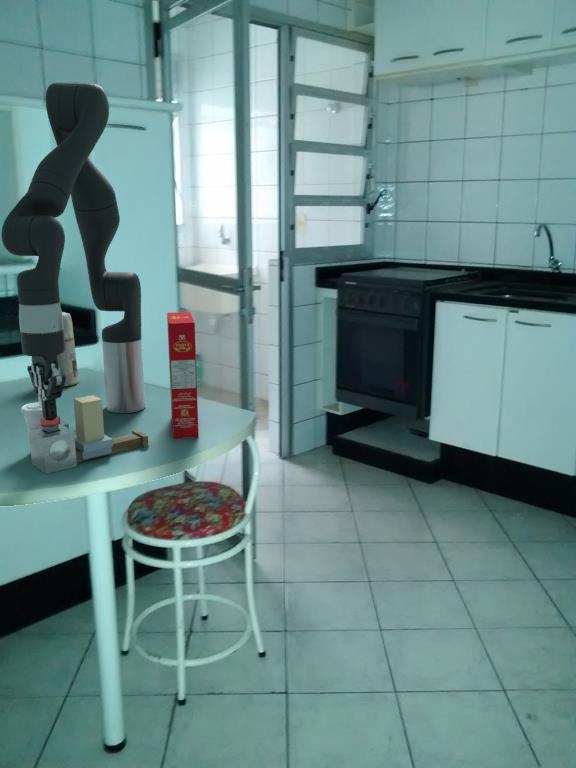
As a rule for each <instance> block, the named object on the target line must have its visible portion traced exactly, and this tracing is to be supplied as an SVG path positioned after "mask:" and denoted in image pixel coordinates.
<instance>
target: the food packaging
mask: <svg viewBox="0 0 576 768" xmlns="http://www.w3.org/2000/svg"><path fill="white" fill-rule="evenodd" d="M166 316H167V317H166V318H167V319H166V320H167V321H166V322H167V342H168V363H169V385H170V386H169V387H170V390H169V391H170V408H171V409H170V410H171V423H172V424H171V425H173V426H172V432H173V440H178V439H192V438H193V439H195V438H196V439H197V438H200V437H199V435H200V434H199V409H198V407H199V406H198V382H197V379H198V377H197V375H198V374H197V354H196V353H197V351H196V350H197V348H196V345H197V344H196V323H195V319H194V317H193V314H192V312H191V311H185V312H184V311H181V312H177V311H175V312H166Z"/></svg>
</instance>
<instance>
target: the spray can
mask: <svg viewBox="0 0 576 768" xmlns="http://www.w3.org/2000/svg"><path fill="white" fill-rule="evenodd" d="M62 316H63V328H64V340H65V351H64V352H63V353H61V354H58V355H57V359H58V363H59V366H60V372H59V374H60V375H65V377H66V381H65V384H64V387H69V386H73V385H76V384H78V383H79V374H78V373H79V371H78V364H77V353H76V345H75V335H74V326H73V320H72V316H71V314H70V313H68V312H65V311H62Z"/></svg>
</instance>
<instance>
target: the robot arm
mask: <svg viewBox="0 0 576 768" xmlns="http://www.w3.org/2000/svg"><path fill="white" fill-rule="evenodd" d="M46 89H47V90H46V92H45V108H46V113H47V118H48V122H49V125H50V129H51V131H52V134H53V137H54V140H55V143H56V146H55V148H53V149H52V150H51V151H50V152H49V153H47V155H45V156H44V157H43V159H41V161H40V162H39V164H38V166H37V167H36V169H35V171H34V174H33V176H32V179H31V181H30V184H29V187H28V188H27V191H26V193H25V194H24V195H23V196H22V197H21V198H20V200H19V201H18V202H17V203H16V205H15V206H13V208H12V209H11V211H10V212H9V213H8V215H7V216H6V218H5V220H4V221H3V224H2V228H1V241H2V244H3V247H4V248H5V250H7V252H8V253H10V254H11V255H14V256H20V257H38V259H37V263H36V265H35V267H34V268H31V269H25V270H22V271H20V272H19V273H18V274H17V277H16V285H17V295H18V297H17V298H18V320H19V321H18V322H19V333H20V342H21V351H22V355H24V356H27V357H31V365H28V366H27V367H26V369H27V370H26V371H27V372H28V375H29V378H30V381H31V383H32V386H33V387H32V388H33V390H34V392H35V394H36V395H38V394H39V397H38V399H39V398H40V399H42V400H41V402H42V413H43V418H45V419H47V420H50V419H55V418H57V416H58V411H57V410H58V409H57V400H58V399H60V398H61V397H62V393H63V391H64V388H65V386H64V384H65V381H66V377H65V375H60V374H59V372H60V366H59V363H58V359H57V355H58V354H61V353H63V352H64V351H65V340H64V328H63V316H62V312H63V310H62V306H61V299H60V289H59V288H60V286H59V277H60V271H61V265H62V259H63V253H64V250H65V243H66V235H65V230H64V228H63V225H62V224H61V221H59V220H58V219H57V218H58V217H60V216H62V215H63V214H64V212H65V210H66V208H67V205H68V203H69V200H70V198H71V203H72V208H73V211H74V217H75V220H76V223H77V228H78V231H79V235H80V237H81V241H82V247H83V251H84V255H85V262H86V267H87V275H88V280H89V288H90V293H91V297H92V302H93V304H94V306H95V307H96V309H97V310H99V311H102V312H123V313H124V314H123V318H122V319H121V320H120V321H118V322H116V323H115V322H114V323H113V324H110V325H107V326H105V327H103V328H102V329H101V340H102V341H101V343H102V354H103V355H102V356H103V358H102V359H103V375H104V376H103V377H104V389H105V404H106V410H107V411H108V412H110V413H113V414H114V413H116V414H129V413H130V414H131V413H137V412H140V411H143V410H144V409H146V396H145V375H144V360H143V359H144V358H143V343H142V339H143V338H142V337H143V336H142V285H141V280H140V277H139V276H138V274H137V273H135V272H132V271H108V270H107V269H106V261H105V260H106V256H107V253H108V250H109V247H110V246H111V244H112V242H113V240H114V238H115V235H116V234H117V231H118V229H119V226H120V221H121V220H120V219H121V217H120V211H119V206H118V201H117V197H116V192H115V190H114V187H113V185H112V184H111V183H110V180H108V179H107V177H106V176H105V175H104V174H103V172H102V171H101V170H100V169H99V168H98V167H97V166H96V164H95V163H94V162H93V161H92V159H91V158H90V155H91V153H92V151H94V148H95V147H96V145H97V144H98V142H99V141H100V138H101V137H102V135H103V133H104V131H105V129H106V128H107V127H106V126H107V124H108V122H109V117H110V116H109V115H110V106H109V105H110V104H109V99H108V96H107V94H106V91H105V89H104V88H102V86H100V85H99V84H96V83H92V82H91V83H90V82H53V83H51V84H50V85H48V87H47V88H46Z"/></svg>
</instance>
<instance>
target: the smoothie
mask: <svg viewBox="0 0 576 768" xmlns="http://www.w3.org/2000/svg"><path fill="white" fill-rule="evenodd" d="M37 395H38V402H36V401H35V402H31V403H26V404H25V405H23V406H21V414H22V415H23V417H24V422H25V425H26V429H27V434H28V439H29V440H30V437H29V429H32V428H37V427H42V426H41V424H40V418H42V417H43V413H42V402H41V400H42V399H40V398H39V394H37Z"/></svg>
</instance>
